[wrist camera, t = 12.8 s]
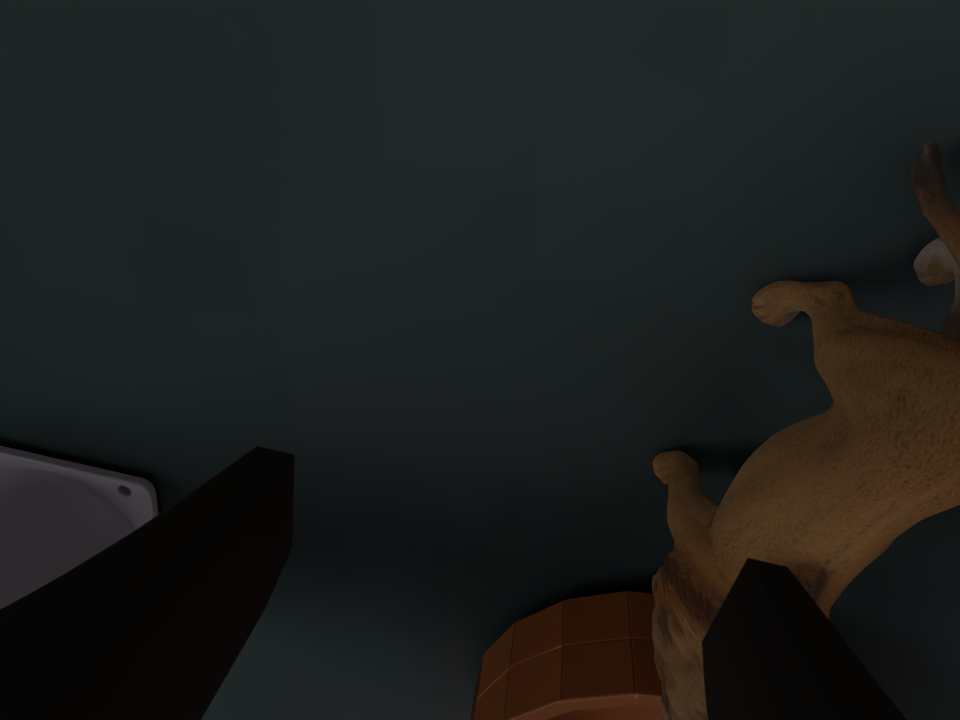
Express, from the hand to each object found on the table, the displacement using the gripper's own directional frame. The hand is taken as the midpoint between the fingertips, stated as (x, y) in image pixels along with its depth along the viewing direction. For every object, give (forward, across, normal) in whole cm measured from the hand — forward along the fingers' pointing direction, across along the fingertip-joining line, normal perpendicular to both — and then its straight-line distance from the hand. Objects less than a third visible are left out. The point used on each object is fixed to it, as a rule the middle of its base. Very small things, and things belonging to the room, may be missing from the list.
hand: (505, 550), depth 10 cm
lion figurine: (+10, -8, +2) cm, 12 cm away
